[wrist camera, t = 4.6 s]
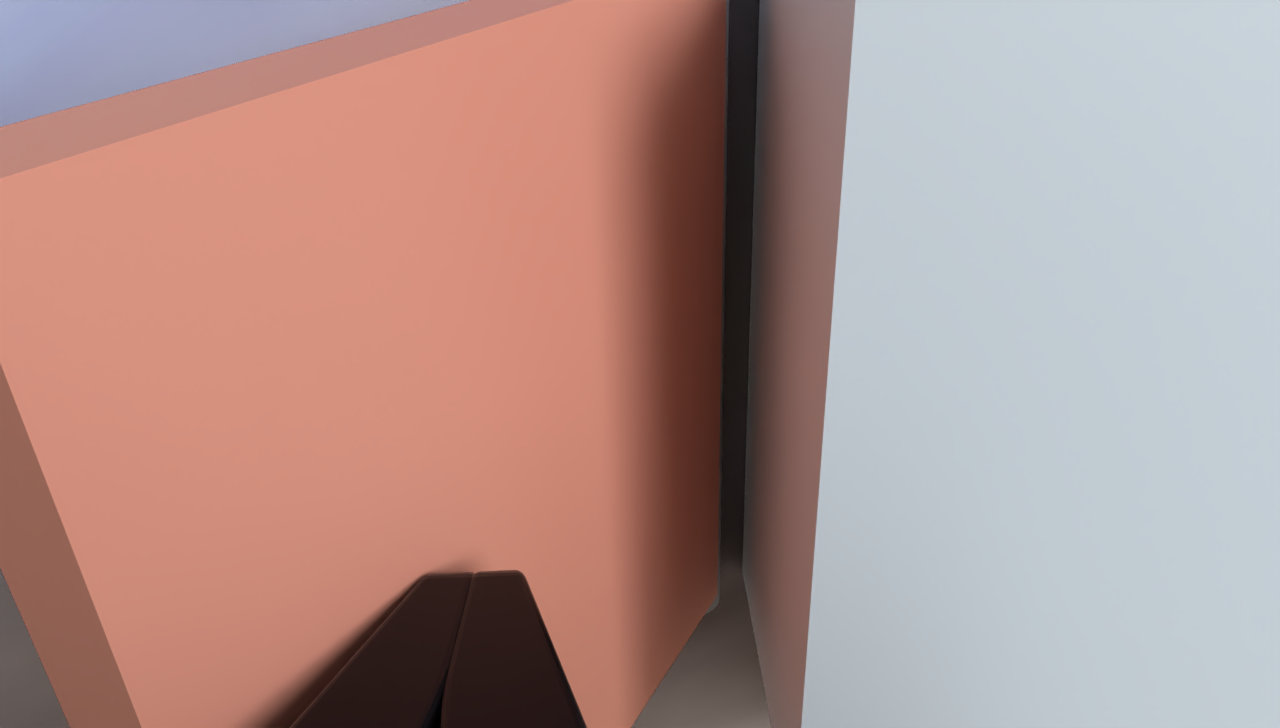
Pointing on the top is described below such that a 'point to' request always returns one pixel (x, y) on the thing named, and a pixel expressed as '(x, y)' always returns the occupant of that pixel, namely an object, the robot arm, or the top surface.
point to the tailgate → (368, 355)
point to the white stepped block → (1016, 364)
